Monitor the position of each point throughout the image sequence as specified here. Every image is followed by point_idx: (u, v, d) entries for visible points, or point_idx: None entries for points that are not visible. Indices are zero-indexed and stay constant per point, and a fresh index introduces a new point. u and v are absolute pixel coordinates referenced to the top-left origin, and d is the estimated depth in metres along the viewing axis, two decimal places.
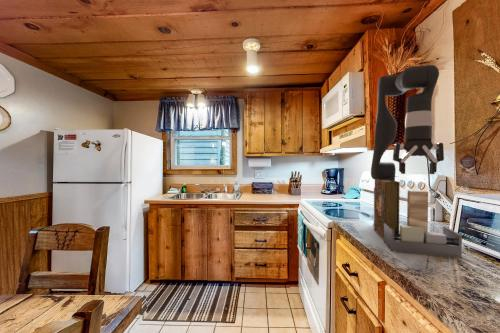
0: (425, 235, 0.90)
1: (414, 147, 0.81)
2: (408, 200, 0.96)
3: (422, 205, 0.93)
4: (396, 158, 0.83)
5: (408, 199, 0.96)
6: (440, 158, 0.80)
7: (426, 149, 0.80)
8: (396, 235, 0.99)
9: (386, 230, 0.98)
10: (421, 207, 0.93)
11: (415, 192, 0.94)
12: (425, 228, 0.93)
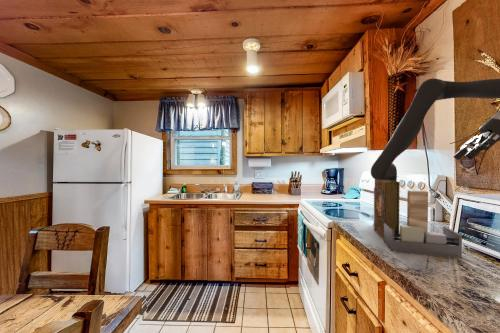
0: (425, 235, 0.90)
1: None
2: (408, 200, 0.96)
3: (422, 205, 0.93)
4: None
5: (408, 199, 0.96)
6: None
7: None
8: (396, 235, 0.99)
9: (386, 230, 0.98)
10: (421, 207, 0.93)
11: (415, 192, 0.94)
12: (425, 228, 0.93)
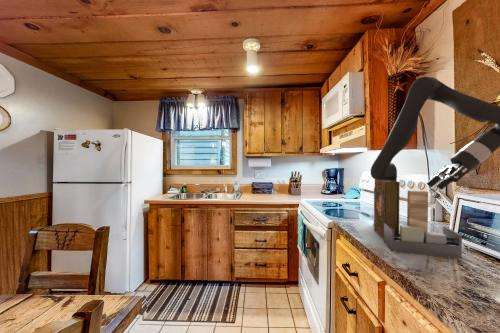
0: (425, 235, 0.90)
1: None
2: (408, 200, 0.96)
3: (422, 205, 0.93)
4: None
5: (408, 199, 0.96)
6: None
7: None
8: (396, 235, 0.99)
9: (386, 230, 0.98)
10: (421, 207, 0.93)
11: (415, 192, 0.94)
12: (425, 228, 0.93)
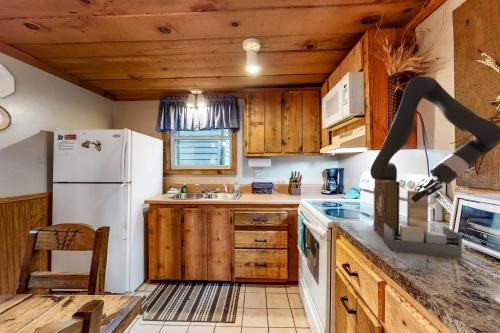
0: (425, 235, 0.90)
1: None
2: (408, 200, 0.96)
3: (422, 205, 0.93)
4: (429, 194, 0.90)
5: (408, 199, 0.96)
6: None
7: None
8: (396, 235, 0.99)
9: (386, 230, 0.98)
10: (421, 207, 0.93)
11: (415, 192, 0.94)
12: (425, 228, 0.93)
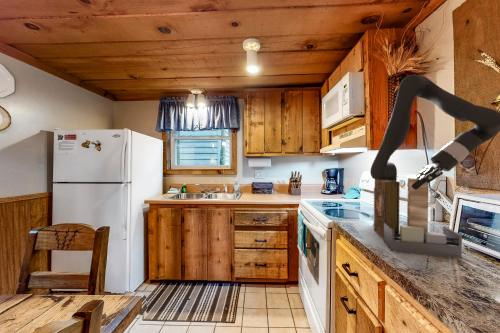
0: (425, 235, 0.90)
1: None
2: (408, 187, 0.96)
3: (422, 192, 0.93)
4: (430, 181, 0.90)
5: (408, 187, 0.96)
6: None
7: None
8: (396, 235, 0.99)
9: (386, 230, 0.98)
10: (421, 194, 0.93)
11: (415, 179, 0.94)
12: (425, 215, 0.93)
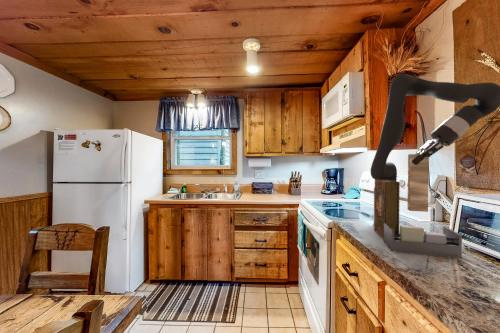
0: (425, 235, 0.90)
1: None
2: (409, 163, 0.96)
3: (423, 167, 0.93)
4: (430, 155, 0.90)
5: (408, 163, 0.96)
6: None
7: None
8: (396, 235, 0.99)
9: (386, 230, 0.98)
10: (421, 169, 0.93)
11: (416, 155, 0.94)
12: (426, 190, 0.93)
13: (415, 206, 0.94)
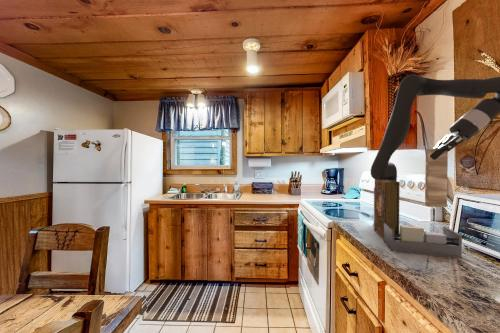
0: (425, 235, 0.90)
1: None
2: (427, 158, 0.94)
3: (441, 162, 0.91)
4: (449, 150, 0.88)
5: (426, 158, 0.94)
6: None
7: None
8: (396, 235, 0.99)
9: (386, 230, 0.98)
10: (440, 164, 0.91)
11: (434, 149, 0.92)
12: (444, 186, 0.91)
13: (433, 201, 0.92)
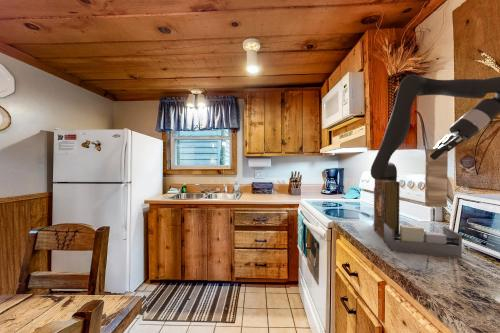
0: (425, 235, 0.90)
1: None
2: (427, 158, 0.94)
3: (441, 162, 0.91)
4: (449, 150, 0.88)
5: (426, 158, 0.94)
6: None
7: None
8: (396, 235, 0.99)
9: (386, 230, 0.98)
10: (440, 164, 0.91)
11: (434, 149, 0.92)
12: (444, 186, 0.91)
13: (433, 201, 0.92)
